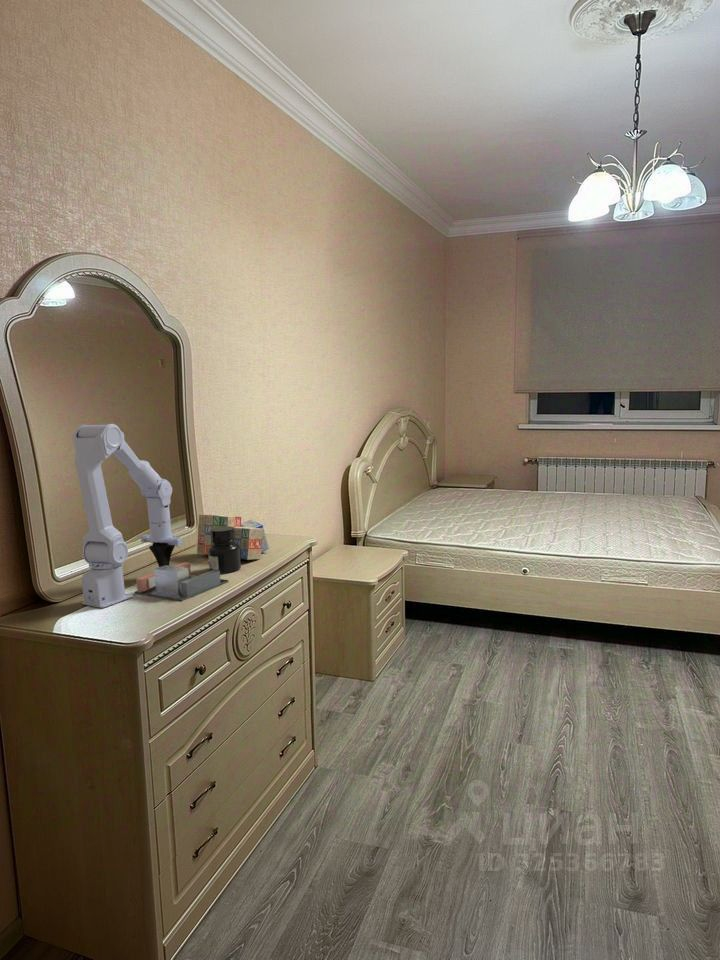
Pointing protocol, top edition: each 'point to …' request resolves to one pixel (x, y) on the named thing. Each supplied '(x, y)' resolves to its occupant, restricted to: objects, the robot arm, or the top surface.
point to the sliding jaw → (149, 580)
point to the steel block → (170, 579)
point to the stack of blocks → (244, 536)
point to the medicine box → (257, 525)
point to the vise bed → (170, 596)
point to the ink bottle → (224, 550)
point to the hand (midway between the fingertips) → (164, 568)
